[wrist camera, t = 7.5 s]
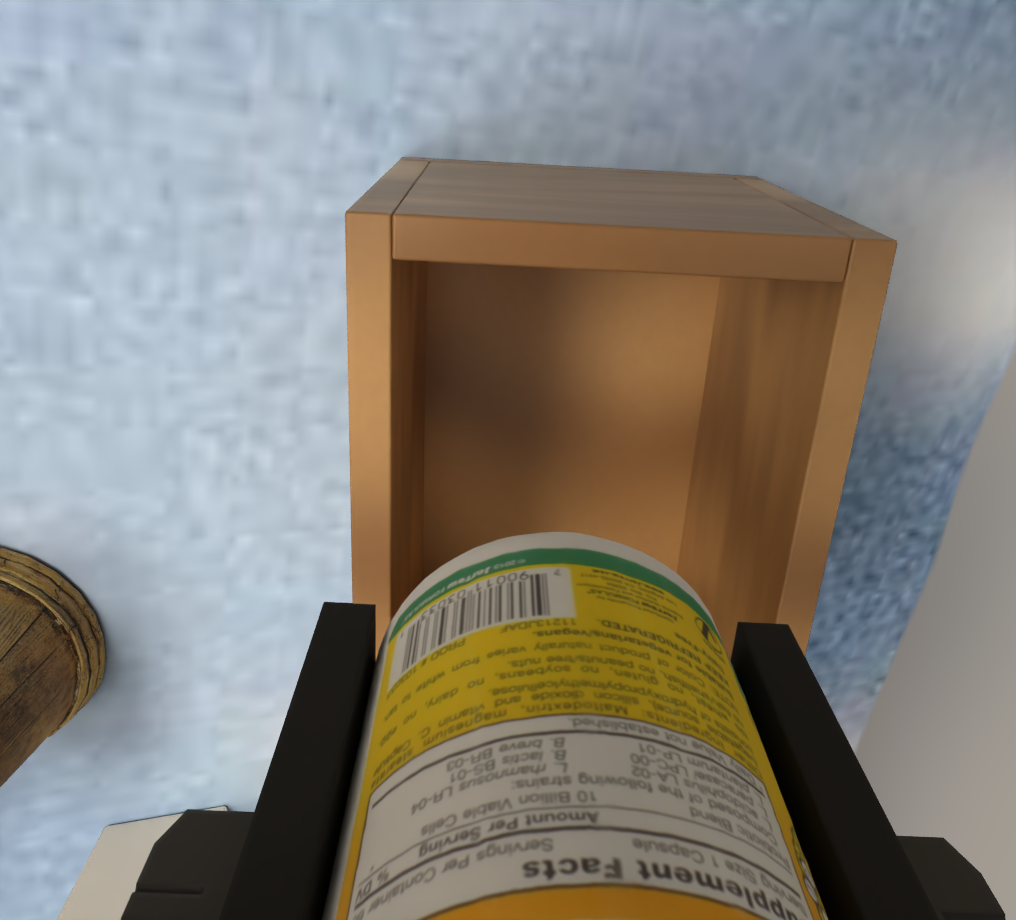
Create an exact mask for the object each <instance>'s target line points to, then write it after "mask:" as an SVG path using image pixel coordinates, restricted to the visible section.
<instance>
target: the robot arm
mask: <svg viewBox="0 0 1016 920" xmlns="http://www.w3.org/2000/svg"><path fill="white" fill-rule="evenodd" d="M730 662H731V664H732V666H733V668H734V671H735V674H736V676H737V679H738V682H739V684H740V687H741V689H742V691H743V693H744V695H745V698H746V701H747V704H748V707H749V710H750V713H751V716H752V718H753V721H754V723H755V725H756V728H757V731H758V734H759V736H760V739H761V742H762V744H763V747H764V749H765V752H766V755H767V757H768V760H769V762H770V765H771V768H772V770H773V773H774V776H775V779H776V781H777V784H778V787H779V789H780V792H781V794H782V797H783V800H784V802H785V805H786V807H787V810H788V812H789V815H790V817H791V820H792V823H793V826H794V830H795V833H796V836H797V838H798V841H799V844H800V847H801V850H802V852H803V854H804V856H805V859H806V861H807V863H808V866H809V869H810V872H811V875H812V878H813V881H814V883H815V886H816V888H817V891H818V894H819V896H820V899H821V902H822V904H823V907H824V909H825V912H826V915H827V917H828V920H1005V913H1004V911H1003V910H1002V908H1001V907H1000V905H999V903H998V901H997V900H996V898H995V897H994V895H993V893H992V891H991V890H990V888H989V886H988V885H987V883H986V881H985V879H984V878H983V876H982V874H981V873H980V872H979V871H978V870H977V869H976V868H975V867H974V866H973V865H971V864H970V863H969V862H968V861H967V860H966V859H965V858H964V857H963V856H962V855H961V854H960V853H959V852H958V851H957V850H956V849H955V848H954V847H953V846H951V845H950V844H949V843H948V842H947V841H946V840H945V839H944V838H937V837H913V836H896V834H895V832H894V830H893V828H892V826H891V824H890V822H889V821H888V819H887V817H886V815H885V813H884V811H883V809H882V807H881V805H880V803H879V801H878V799H877V797H876V795H875V793H874V791H873V789H872V787H871V785H870V783H869V781H868V779H867V777H866V776H865V773H864V771H863V770H862V768H861V766H860V764H859V762H858V760H857V758H856V756H855V754H854V752H853V750H852V748H851V746H850V744H849V742H848V740H847V738H846V736H845V734H844V732H843V730H842V728H841V727H840V725H839V723H838V721H837V719H836V717H835V715H834V713H833V711H832V709H831V707H830V705H829V703H828V701H827V699H826V697H825V695H824V693H823V691H822V689H821V687H820V685H819V683H818V682H817V680H816V678H815V676H814V674H813V672H812V670H811V668H810V666H809V664H808V662H807V660H806V658H805V656H804V654H803V652H802V650H801V648H800V646H799V644H798V642H797V640H796V638H795V637H794V635H793V633H792V631H791V629H790V627H789V625H788V624H773V623H752V622H738V624H737V629H736V634H735V639H734V645H733V650H732V655H731V660H730ZM375 663H376V604H356V603H335V602H324V604H323V607H322V610H321V613H320V616H319V619H318V622H317V625H316V628H315V631H314V634H313V637H312V640H311V643H310V646H309V649H308V652H307V655H306V658H305V661H304V664H303V667H302V670H301V673H300V676H299V679H298V682H297V685H296V688H295V691H294V694H293V697H292V700H291V703H290V706H289V709H288V712H287V715H286V718H285V722H284V725H283V728H282V731H281V734H280V737H279V740H278V743H277V746H276V749H275V752H274V755H273V758H272V761H271V764H270V767H269V770H268V773H267V776H266V779H265V782H264V785H263V788H262V791H261V794H260V797H259V800H258V803H257V806H256V809H255V812H239V811H214V810H190V809H187V810H186V811H185V812H184V813H183V814H182V815H181V816H180V818H179V819H178V820H177V821H176V822H175V823H174V824H173V825H172V826H171V827H170V828H169V829H168V830H167V831H166V832H165V833H164V834H163V835H162V836H161V837H160V838H159V839H158V840H157V841H156V842H155V843H154V845H153V847H152V849H151V852H150V854H149V856H148V858H147V861H146V863H145V865H144V867H143V870H142V872H141V874H140V876H139V878H138V881H137V883H136V889H135V892H132V894H131V896H130V899H129V901H128V903H127V905H126V908H125V910H124V912H123V914H122V917H121V920H321V919H322V915H323V910H324V906H325V901H326V896H327V892H328V887H329V882H330V878H331V873H332V868H333V863H334V859H335V854H336V849H337V845H338V840H339V835H340V831H341V825H342V820H343V815H344V810H345V805H346V800H347V795H348V791H349V786H350V781H351V777H352V772H353V767H354V762H355V758H356V753H357V749H358V744H359V740H360V735H361V729H362V724H363V719H364V714H365V709H366V704H367V699H368V694H369V689H370V685H371V681H372V676H373V672H374V667H375Z"/></svg>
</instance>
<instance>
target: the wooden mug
mask: <svg viewBox="0 0 1016 920" xmlns="http://www.w3.org/2000/svg"><path fill="white" fill-rule="evenodd" d="M105 661H106V655H105V644H104V637H103V634H102V631H101V628H100V626H99V623H98V620H97V618H96V615H95V613H94V612H93V610H92V609H91V608H90V606H89V605H88V603H87V602H86V601H85V599H84V598H83V597H82V595H81V594H80V592H79V591H78V590H76V589H75V588H74V587H73V586H72V585H71V584H70V583H68V582H67V581H66V580H65V579H64V578H63V577H62V576H60V575H59V574H58V573H57V572H56V571H54V570H52V569H50V568H49V567H47V566H45V565H43V564H41V563H40V562H38V561H36V560H34V559H33V558H31V557H29V556H26V555H23V554H20V553H17V552H14V551H11V550H8V549H5V548H2V547H0V787H1V786H2V785H3V784H4V783H5V782H6V781H7V780H8V778H9V777H10V776H11V775H12V774H13V773H14V772H15V771H16V770H17V769H18V768H19V767H20V766H21V765H22V764H23V762H24V761H25V760H26V759H27V758H28V757H29V756H30V755H31V754H32V753H33V752H34V751H35V750H36V749H37V748H38V746H39V745H40V744H41V743H42V742H43V741H44V740H45V739H46V738H47V737H49V736H51V735H53V734H54V733H55V732H57V731H58V730H59V729H60V728H61V727H62V726H64V725H65V724H66V723H67V722H68V721H69V720H71V719H72V718H73V717H74V716H75V715H76V713H77V712H78V711H79V710H80V709H81V708H82V707H83V706H84V705H85V704H86V703H87V702H88V701H89V700H90V698H91V697H92V695H93V694H94V693H95V691H96V690H97V688H98V687H99V686H100V684H101V683H102V679H103V673H104V667H105Z"/></svg>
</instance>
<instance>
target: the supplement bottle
mask: <svg viewBox="0 0 1016 920" xmlns="http://www.w3.org/2000/svg"><path fill="white" fill-rule="evenodd" d="M321 920H828V917H827V915H826V912H825V909H824V907H823V904H822V902H821V899H820V896H819V894H818V891H817V888H816V886H815V883H814V881H813V878H812V875H811V872H810V869H809V866H808V863H807V861H806V859H805V856H804V854H803V852H802V850H801V847H800V844H799V841H798V838H797V836H796V833H795V830H794V826H793V823H792V820H791V817H790V815H789V812H788V810H787V807H786V805H785V802H784V800H783V797H782V794H781V792H780V789H779V787H778V784H777V781H776V779H775V776H774V773H773V770H772V768H771V765H770V762H769V760H768V757H767V755H766V752H765V749H764V747H763V744H762V742H761V739H760V736H759V734H758V731H757V728H756V725H755V723H754V721H753V718H752V716H751V713H750V710H749V707H748V704H747V701H746V698H745V695H744V693H743V691H742V689H741V687H740V684H739V682H738V679H737V676H736V674H735V671H734V668H733V666H732V664H731V662H730V660H729V658H728V655H727V653H726V651H725V648H724V645H723V643H722V640H721V637H720V635H719V632H718V630H717V628H716V626H715V623H714V621H713V619H712V616H711V614H710V612H709V611H708V609H707V608H706V606H705V605H704V603H703V602H702V600H701V599H700V597H699V596H698V594H697V593H696V592H695V591H694V590H693V589H692V588H691V587H690V585H689V584H688V583H687V582H686V581H685V580H684V579H682V578H681V577H680V576H679V575H678V574H677V573H676V572H675V571H673V570H672V569H670V568H669V567H667V566H666V565H664V564H663V563H661V562H660V561H658V560H656V559H654V558H652V557H651V556H649V555H647V554H645V553H644V552H641V551H639V550H636V549H634V548H632V547H629V546H626V545H624V544H621V543H618V542H615V541H611V540H607V539H603V538H600V537H596V536H591V535H587V534H581V533H575V532H541V533H533V534H525V535H517V536H512V537H507V538H502V539H498V540H495V541H492V542H490V543H487V544H484V545H481V546H478V547H475V548H473V549H471V550H469V551H467V552H465V553H463V554H461V555H459V556H458V557H456V558H454V559H452V560H451V561H449V562H447V563H446V564H444V565H442V566H441V567H439V568H438V569H437V570H435V571H434V572H433V573H431V574H430V575H429V576H427V577H426V578H425V579H424V580H423V581H422V582H421V583H420V584H419V585H418V586H417V587H416V588H415V589H414V590H413V591H412V593H411V594H410V595H409V596H408V597H407V599H406V600H405V601H404V602H403V604H402V605H401V607H400V608H399V610H398V611H397V613H396V614H395V616H394V617H393V619H392V620H391V622H390V624H389V626H388V628H387V630H386V632H385V634H384V637H383V640H382V642H381V645H380V648H379V651H378V655H377V659H376V663H375V667H374V672H373V676H372V681H371V685H370V689H369V694H368V699H367V704H366V709H365V714H364V719H363V724H362V729H361V735H360V740H359V744H358V749H357V753H356V758H355V762H354V767H353V772H352V777H351V781H350V786H349V791H348V795H347V800H346V805H345V810H344V815H343V820H342V825H341V831H340V835H339V840H338V845H337V849H336V854H335V859H334V863H333V868H332V873H331V878H330V882H329V887H328V892H327V896H326V901H325V906H324V910H323V915H322V919H321Z"/></svg>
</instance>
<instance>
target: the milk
mask: <svg viewBox="0 0 1016 920" xmlns="http://www.w3.org/2000/svg"><path fill="white" fill-rule="evenodd" d="M205 810H214V811H228V810H227V808H226V807H225V806H223V807H216V808H211V809H205ZM182 814H183V813H181V814H175V815H170V816H164V817H158V818H152V819H146V820H140V821H134V822H129V823H123V824H117V825H111V826H107V827H105V828H104V830H103V832H102V834H101V835H100V837H99V839H98V841H97V843H96V845H95V847H94V849H93V851H92V853H91V855H90V857H89V859H88V861H87V862H86V864H85V866H84V868H83V870H82V872H81V874H80V876H79V878H78V880H77V882H76V884H75V886H74V887H73V889H72V891H71V893H70V895H69V897H68V899H67V901H66V903H65V905H64V907H63V909H62V911H61V913H60V914H59V916H58V918H57V920H121V917H122V914H123V912H124V910H125V908H126V905H127V903H128V901H129V899H130V896H131V894H132V892H135V889H136V883H137V881H138V878H139V876H140V874H141V872H142V870H143V867H144V865H145V863H146V861H147V858H148V856H149V854H150V852H151V849H152V847H153V845H154V843H155V842H156V841H157V840H158V839H159V838H160V837H161V836H162V835H163V834H164V833H165V832H166V831H167V830H168V829H169V828H170V827H171V826H172V825H173V824H174V823H175V822H176V821H177V820H178V819H179V818H180V816H181V815H182Z"/></svg>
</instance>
